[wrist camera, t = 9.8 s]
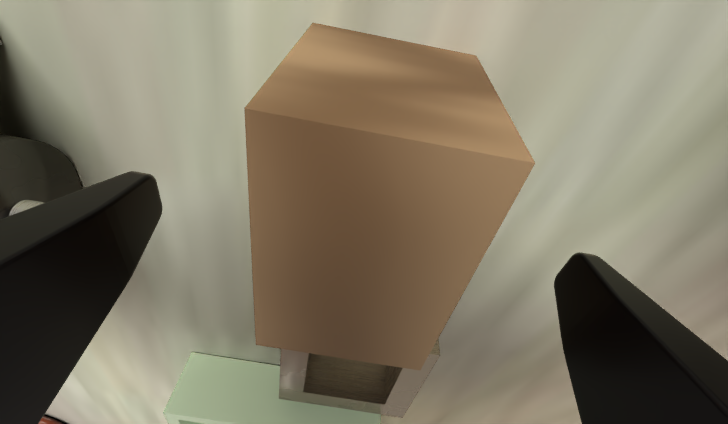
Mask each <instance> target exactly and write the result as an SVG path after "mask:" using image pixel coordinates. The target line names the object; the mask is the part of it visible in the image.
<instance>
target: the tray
mask: <svg viewBox="0 0 728 424" xmlns="http://www.w3.org/2000/svg"><path fill="white" fill-rule="evenodd" d="M279 382H280V366H277V365H270V364H264V363H258V362H251V361H245V360H239V359H232V358H226V357H219V356H213V355H207V354H200V353H194V352H192V353H191V355H190V357H189V359H188V361H187V363H186V365H185V368H184V370H183V372H182V374H181V376H180V378H179V380H178V382H177V384H176V386H175V389H174V391H173V393H172V395H171V397H170V399H169V401H168V403H167V405H166V408H165V410H164V412H163V414H164V416H165V418H166V420H167V422H168V424H380V421H381V414H375V413H368V412H362V411H355V410H349V409H342V408H336V407H329V406H322V405H316V404H309V403H303V402H296V401H290V400H283V399H279Z"/></svg>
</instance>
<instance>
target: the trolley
mask: <svg viewBox="0 0 728 424" xmlns="http://www.w3.org/2000/svg"><path fill="white" fill-rule="evenodd" d="M1 44H2V42H1V40H0V45H1ZM81 189H82V188H81V184H80V180H79V177H78V174H77V172H76V170H75V168H74V166H73V165H72V163H71V162H70V160H69V159H68V158H67V157H66V156H65V155H64V154H63V153H62V152H61V151H59V150H58V149H56V148H55V147H53V146H51V145H49V144H46V143H44V142H40V141H36V140H31V139H25V138H20V137H14V136H9V135H3V134H0V219H3V218H5V217H8V216H11V215H13V214H16V213H19V212H22V211H24V210H27V209H30V208H32V207H35V206H38V205H40V204H43V203H46V202H49V201H51V200H54V199H57V198H59V197H62V196H65V195H68V194H70V193H73V192H76V191H78V190H81Z"/></svg>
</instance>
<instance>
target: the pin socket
mask: <svg viewBox="0 0 728 424" xmlns="http://www.w3.org/2000/svg"><path fill="white" fill-rule="evenodd" d="M439 356H440V352H439V341H438V339H437V341H436V343H435V345H434V346H433V348H432V350H431V352H430V354H429V356H428V357H427V359H426V361H425V363H424V365H423V366H422V368H421V370H413V369H407V368H401V367H394V366H388V365H382V364H375V363H369V362H362V361H356V360H350V359H343V358H337V357H331V356H324V355H318V354H312V353H305V352H299V351H293V350H286V349H281V358H280V382H279V399H283V400H290V401H296V402H303V403H309V404H316V405H322V406H329V407H336V408H342V409H349V410H355V411H362V412H368V413H375V414H381V415H388V416H394V417H401V418H403V416H404V414H405V413H406V411H407V409H408V408H409V406H410V404H411V403H412V401H413V399H414V398H415V396H416V394H417V393H418V391H419V389H420V388H421V386H422V384H423V383H424V381H425V379H426V378H427V376H428V374H429V373H430V371H431V369H432V368H433V366H434V364H435V363H436V361H437V359H438V358H439Z"/></svg>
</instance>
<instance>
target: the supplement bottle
mask: <svg viewBox="0 0 728 424" xmlns="http://www.w3.org/2000/svg"><path fill="white" fill-rule="evenodd" d="M38 424H63V423H62V422H60V421H57V420H55V419H53V418H50V417H47V416H45V415H44V416H43V417H42V419H41V420H40V422H39V423H38Z"/></svg>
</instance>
